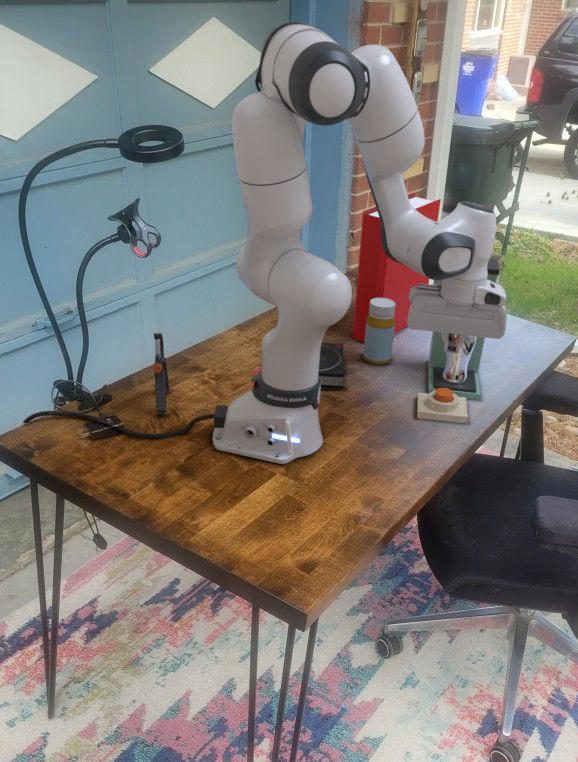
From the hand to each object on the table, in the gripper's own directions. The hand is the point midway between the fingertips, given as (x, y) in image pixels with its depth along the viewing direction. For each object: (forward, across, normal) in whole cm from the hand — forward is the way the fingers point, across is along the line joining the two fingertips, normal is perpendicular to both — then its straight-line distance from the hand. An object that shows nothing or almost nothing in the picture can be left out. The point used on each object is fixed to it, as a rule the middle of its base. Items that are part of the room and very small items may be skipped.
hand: (450, 352), depth 153 cm
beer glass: (+13, +4, +15) cm, 20 cm away
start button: (+12, +1, +2) cm, 12 cm away
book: (+15, -13, +47) cm, 51 cm away
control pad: (+15, +1, +2) cm, 15 cm away
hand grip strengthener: (+16, -60, -7) cm, 63 cm away
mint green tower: (+15, +4, +18) cm, 24 cm away
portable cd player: (+16, -31, +14) cm, 38 cm away
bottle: (+15, -15, +25) cm, 33 cm away
